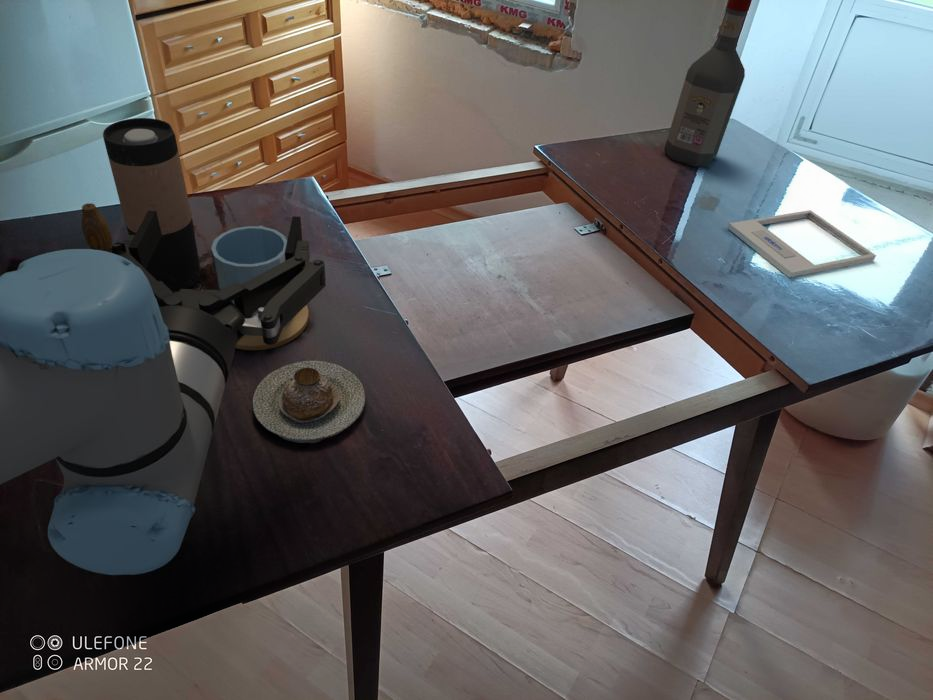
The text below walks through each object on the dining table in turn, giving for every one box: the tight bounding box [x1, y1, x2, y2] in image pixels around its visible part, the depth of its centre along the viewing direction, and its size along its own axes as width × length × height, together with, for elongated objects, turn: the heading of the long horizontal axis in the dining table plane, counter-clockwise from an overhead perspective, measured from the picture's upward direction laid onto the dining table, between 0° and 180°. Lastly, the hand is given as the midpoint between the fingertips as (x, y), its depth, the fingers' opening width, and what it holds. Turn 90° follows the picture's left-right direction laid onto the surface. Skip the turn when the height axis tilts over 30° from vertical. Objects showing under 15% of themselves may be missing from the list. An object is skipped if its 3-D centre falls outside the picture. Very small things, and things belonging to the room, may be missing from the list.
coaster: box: [235, 304, 310, 351], centre depth 85 cm, size 12×12×1 cm
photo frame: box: [727, 209, 877, 279], centre depth 111 cm, size 15×1×18 cm
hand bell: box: [81, 202, 113, 253], centre depth 77 cm, size 8×8×16 cm
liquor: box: [663, 0, 753, 168], centre depth 125 cm, size 9×9×30 cm
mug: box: [210, 224, 291, 335], centre depth 83 cm, size 11×8×10 cm
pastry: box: [252, 360, 366, 444], centre depth 74 cm, size 12×12×5 cm
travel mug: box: [102, 117, 201, 293], centre depth 84 cm, size 8×8×20 cm
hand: (227, 225), depth 68 cm, fingers open, 13 cm apart
